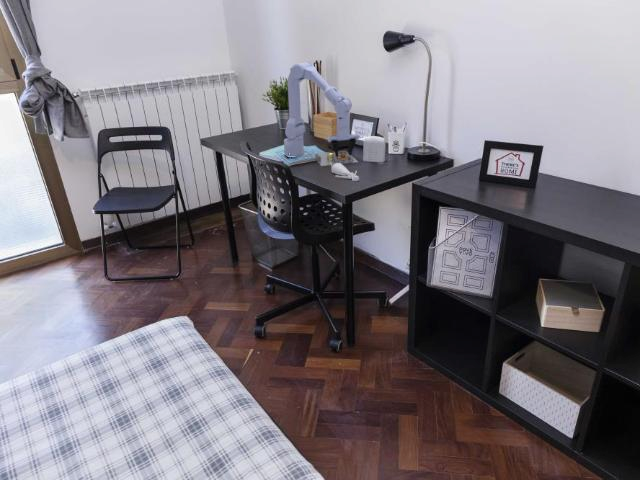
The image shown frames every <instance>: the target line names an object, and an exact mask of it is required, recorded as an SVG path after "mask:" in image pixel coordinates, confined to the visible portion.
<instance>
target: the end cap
mask: <svg viewBox="0 0 640 480" xmlns="http://www.w3.org/2000/svg"><path fill="white" fill-rule="evenodd" d="M337 142H338V150H339V149H344V148H349V145H348V140H341V141H337ZM327 147H328V148H330V150H333V151H334V148H333V145H332V143H331V142H327Z"/></svg>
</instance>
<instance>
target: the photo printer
mask: <svg viewBox="0 0 640 480" xmlns="http://www.w3.org/2000/svg"><path fill="white" fill-rule="evenodd" d="M362 147H363V150H362V161H363V162H369V163H370V162H371V163H376V164H379V165H381V164H382V165H383V164H385V160H386V159H385V158H386V139H385V138H384V137H381V136H376V135H372V136H371V135H370V136H369V135H368V136H365V137H364V139H363V146H362Z"/></svg>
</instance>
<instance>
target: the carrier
mask: <svg viewBox="0 0 640 480" xmlns="http://www.w3.org/2000/svg"><path fill="white" fill-rule="evenodd" d="M341 151H342V150H338V156H341ZM344 151H345V156H348V159H347V160H339V159H338V157H336V156H335V151H328V152H327V151H326V152H320V153H319V152H316V153H310V155H311V156H312V158H314V160H316V162H317V163H318V164H319V165H320V166H321V167H323V166H324V167H326V166H331V165H334V164H336V163H341V164H342V165H344V164H352V163H353V164H354V163H359V161H358V160H357V158H355V157H354V156H353V155H352V154H351V155H349V153H348V151H347V150H344Z"/></svg>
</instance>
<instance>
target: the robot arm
mask: <svg viewBox="0 0 640 480" xmlns="http://www.w3.org/2000/svg"><path fill="white" fill-rule="evenodd" d="M289 70H290V72H289V75H288V78H287V95H288V97H287V98H288V115H289V116H288V117H289V118H288V120H287V122H286V127H285V129H284V130H285V131H284V132H285V133H284V134H285V136H286V137H287V138H284V139H283V148H284V153H285V154H284V155H286V156H287V157H288V156H297V157H298V156H303V155H304V153H305V151H304V150H305V149H304V146H305V145H304V134H305V133H306V130H307V129H306V125H305V121H304V119H303V118H302V116H301V113H302V111H301V87H300V85H301V84H300V83H302V82H303V81H304V80H309V81H312V82H313V84H315V85H316V86H317V87H319V88H320V89H321V90H322V91H323V94H324V97H325V98H326V99H327V100H328V101H329V102H330V104H332V105H333V108H334V111H335V112H336V134H335V135H331V136H327V143H330V142H331V143H332V145H333V148H334V150H333V152H335V156H336V157H338V151H339V149H338V142H337V141H341V140H348V145H349V147H348V149H347V150H348V151H347V152H348V153H349V155H351V156H352V153H353V149H354V147H355V145H356V144H357V140H360V135H359V134H358V133H357V134H355V133H354V134H352V133H351V132H350V123H351V121H350V120H351V119H350V118H351V117H350V115H351V114H350V110H351V109H352V106H353V105H352V102H351V100H350V98H348V97H345V96H344V95H343V94H342V93H340V92H339V90H338V88H337V87H336V86H331V85H329V83H327V81H326V80H325V78H323V77H322V76H321V74H320V73H319V72H318V71H317V69H316V66H315V65H313V64H312V63H311V62H310V61H305V62H301V63H300V62H299V63H295V64H293V65H292V66H291V67H290V68H289ZM331 143H330V144H331ZM289 153H290V155H289ZM286 156H285V157H286ZM287 157H286V158H287Z"/></svg>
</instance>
